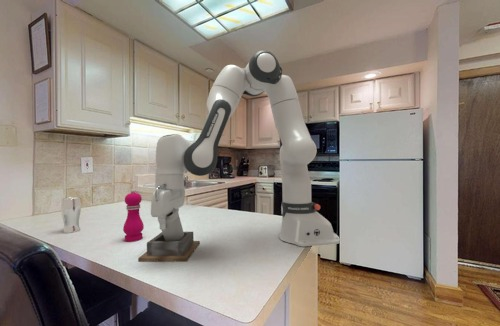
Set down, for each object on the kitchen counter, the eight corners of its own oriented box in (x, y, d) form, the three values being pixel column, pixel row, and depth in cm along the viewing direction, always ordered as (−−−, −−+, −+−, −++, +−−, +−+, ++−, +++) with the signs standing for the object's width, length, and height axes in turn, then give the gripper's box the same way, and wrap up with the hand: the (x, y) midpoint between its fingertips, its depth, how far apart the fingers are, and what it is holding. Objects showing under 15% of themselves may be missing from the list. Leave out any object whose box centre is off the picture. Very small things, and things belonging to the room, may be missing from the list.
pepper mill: (147, 237, 90) (147, 188, 90) (131, 243, 83) (131, 190, 83) (135, 235, 93) (135, 187, 93) (119, 240, 86) (118, 189, 86)
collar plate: (199, 243, 82) (199, 230, 82) (187, 261, 67) (186, 244, 67) (159, 243, 82) (159, 230, 82) (138, 261, 67) (138, 245, 67)
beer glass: (57, 232, 98) (57, 199, 98) (75, 228, 104) (74, 196, 105) (67, 234, 95) (67, 199, 95) (84, 229, 102) (84, 197, 102)
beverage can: (178, 247, 73) (170, 221, 67) (161, 243, 75) (152, 218, 68) (187, 232, 78) (181, 207, 72) (172, 229, 80) (164, 204, 74)
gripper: (167, 185, 63) (166, 234, 63) (187, 181, 83) (187, 217, 83) (145, 185, 63) (144, 234, 63) (171, 181, 83) (170, 217, 83)
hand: (169, 224), depth 73 cm, fingers open, 8 cm apart
